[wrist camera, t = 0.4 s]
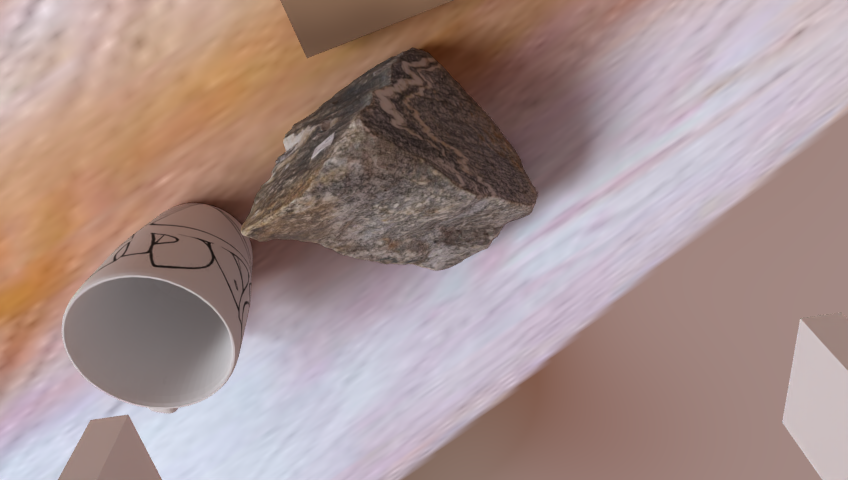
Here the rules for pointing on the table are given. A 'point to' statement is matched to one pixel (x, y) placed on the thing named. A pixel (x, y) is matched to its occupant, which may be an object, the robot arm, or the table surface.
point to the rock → (395, 172)
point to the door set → (347, 19)
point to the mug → (165, 310)
